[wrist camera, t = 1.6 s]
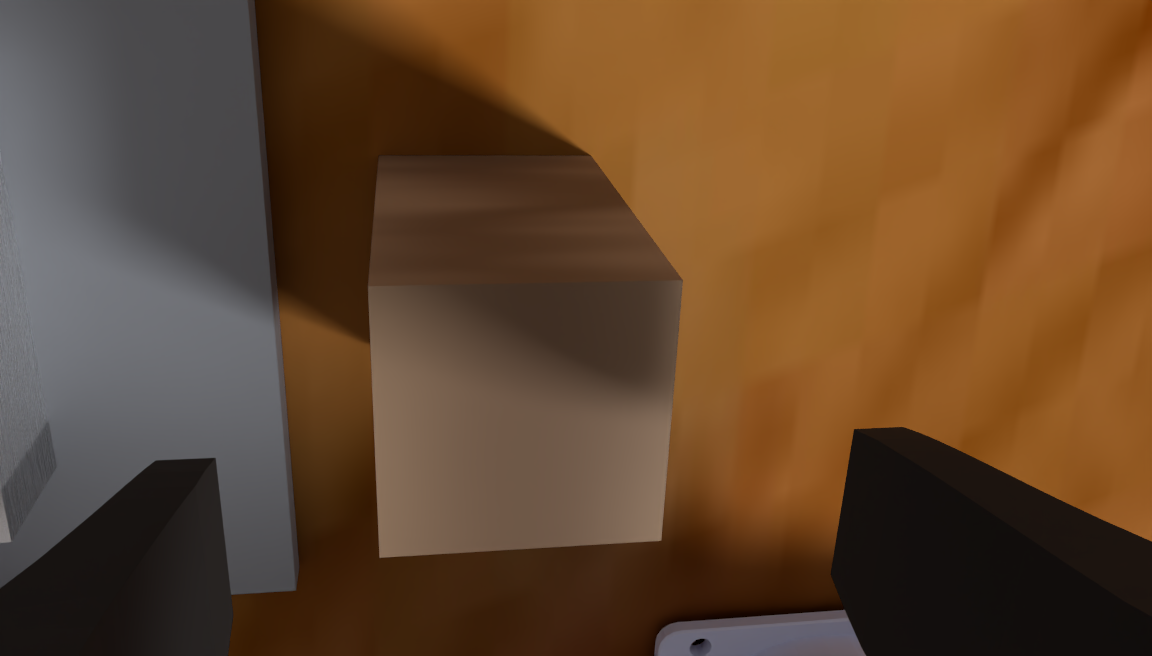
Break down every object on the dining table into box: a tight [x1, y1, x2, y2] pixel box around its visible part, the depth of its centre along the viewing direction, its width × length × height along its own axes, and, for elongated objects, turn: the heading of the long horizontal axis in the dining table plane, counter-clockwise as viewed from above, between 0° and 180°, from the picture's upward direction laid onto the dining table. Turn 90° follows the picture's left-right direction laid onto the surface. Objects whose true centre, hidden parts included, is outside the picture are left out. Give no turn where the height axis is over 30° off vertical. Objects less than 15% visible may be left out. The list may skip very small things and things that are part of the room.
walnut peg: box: [368, 155, 683, 558], centre depth 17 cm, size 4×4×7 cm
